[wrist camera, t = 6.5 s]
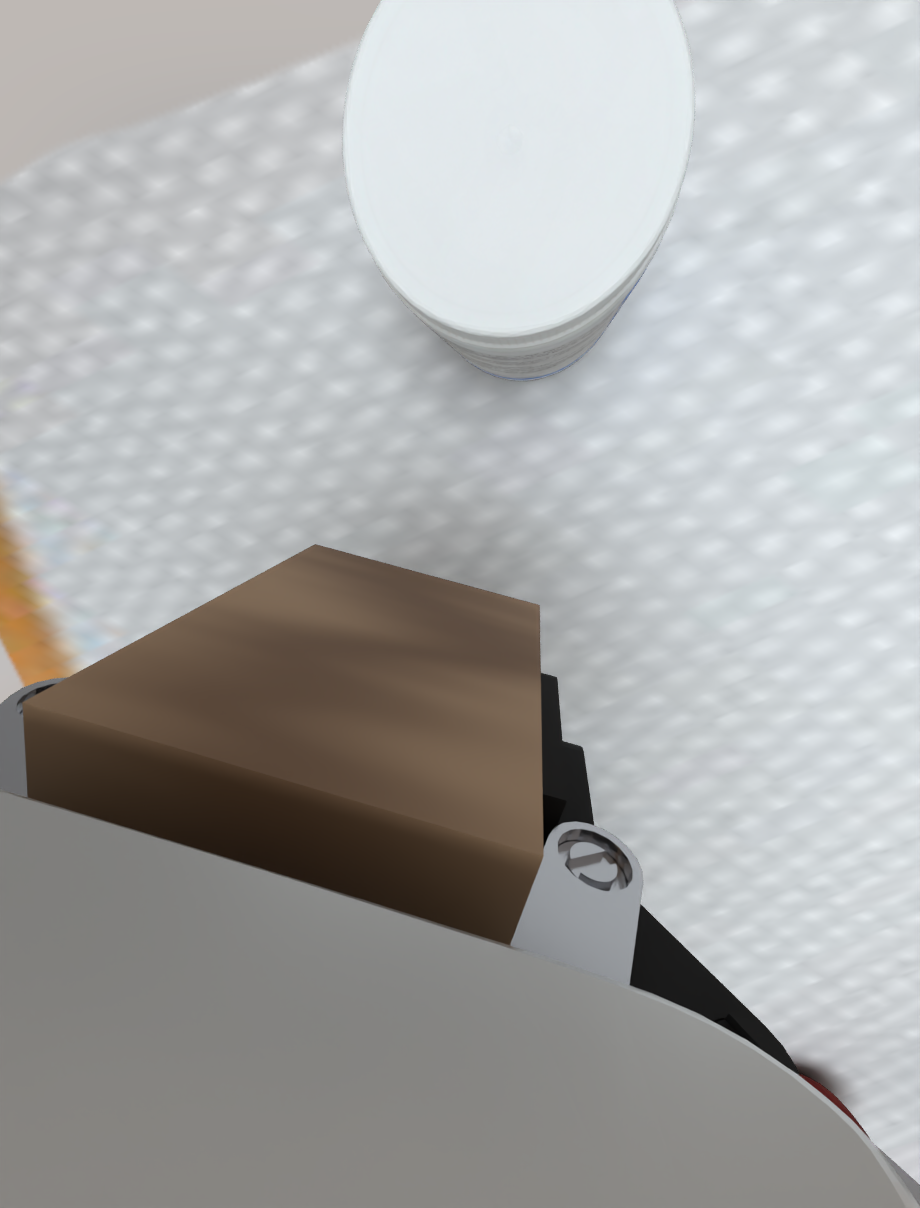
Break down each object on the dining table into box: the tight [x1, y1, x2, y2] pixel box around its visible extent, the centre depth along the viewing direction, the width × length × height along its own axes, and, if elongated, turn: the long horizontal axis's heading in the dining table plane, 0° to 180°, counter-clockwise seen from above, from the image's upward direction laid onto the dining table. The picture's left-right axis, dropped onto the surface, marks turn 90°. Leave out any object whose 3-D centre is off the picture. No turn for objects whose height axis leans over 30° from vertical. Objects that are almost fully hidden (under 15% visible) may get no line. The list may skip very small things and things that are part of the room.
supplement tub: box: [342, 0, 695, 381], centre depth 21 cm, size 10×10×15 cm
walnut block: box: [22, 544, 544, 945], centre depth 9 cm, size 5×5×7 cm
